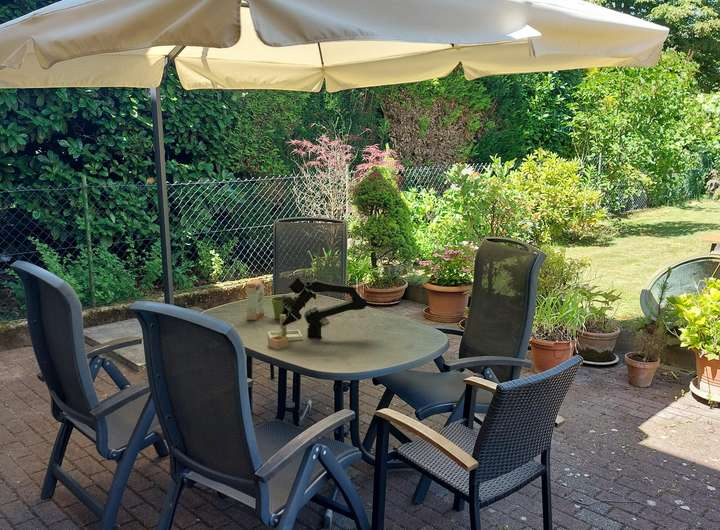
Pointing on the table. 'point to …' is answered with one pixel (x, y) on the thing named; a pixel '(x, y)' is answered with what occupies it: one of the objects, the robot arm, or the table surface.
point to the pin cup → (278, 342)
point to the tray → (288, 334)
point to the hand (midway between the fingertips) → (280, 322)
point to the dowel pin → (282, 328)
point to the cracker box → (255, 299)
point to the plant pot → (277, 306)
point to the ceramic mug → (324, 319)
